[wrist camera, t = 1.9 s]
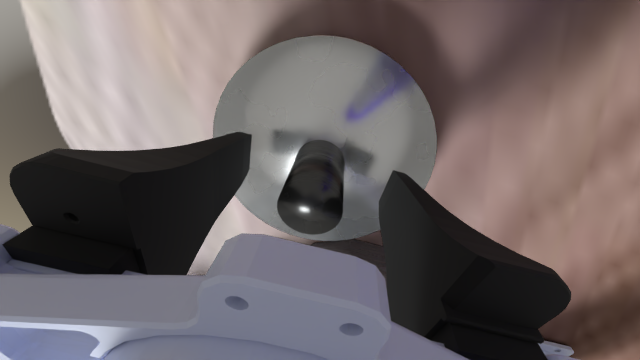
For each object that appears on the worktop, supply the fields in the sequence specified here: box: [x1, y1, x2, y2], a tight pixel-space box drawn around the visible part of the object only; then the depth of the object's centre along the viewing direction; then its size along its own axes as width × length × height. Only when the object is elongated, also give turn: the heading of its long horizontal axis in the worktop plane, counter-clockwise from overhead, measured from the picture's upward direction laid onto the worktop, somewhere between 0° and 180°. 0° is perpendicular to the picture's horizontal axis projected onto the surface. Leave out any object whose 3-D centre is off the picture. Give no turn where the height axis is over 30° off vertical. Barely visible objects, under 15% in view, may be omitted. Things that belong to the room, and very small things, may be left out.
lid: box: [213, 35, 437, 241], centre depth 12 cm, size 12×12×6 cm
